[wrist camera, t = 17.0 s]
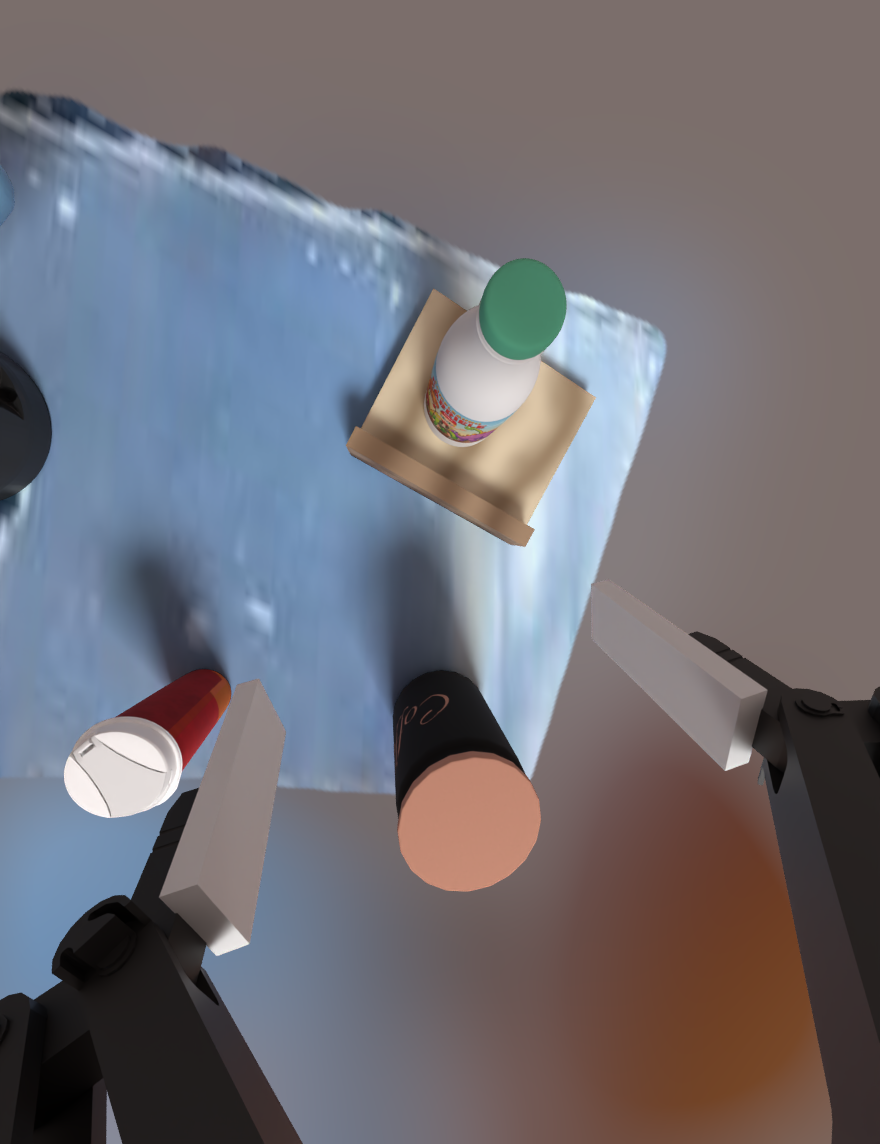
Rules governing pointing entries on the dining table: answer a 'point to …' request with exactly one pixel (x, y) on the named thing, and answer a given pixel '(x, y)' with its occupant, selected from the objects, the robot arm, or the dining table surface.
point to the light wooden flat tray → (482, 471)
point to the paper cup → (145, 746)
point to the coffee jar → (458, 786)
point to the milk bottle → (494, 353)
